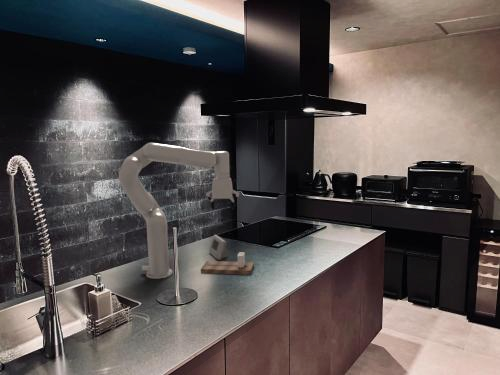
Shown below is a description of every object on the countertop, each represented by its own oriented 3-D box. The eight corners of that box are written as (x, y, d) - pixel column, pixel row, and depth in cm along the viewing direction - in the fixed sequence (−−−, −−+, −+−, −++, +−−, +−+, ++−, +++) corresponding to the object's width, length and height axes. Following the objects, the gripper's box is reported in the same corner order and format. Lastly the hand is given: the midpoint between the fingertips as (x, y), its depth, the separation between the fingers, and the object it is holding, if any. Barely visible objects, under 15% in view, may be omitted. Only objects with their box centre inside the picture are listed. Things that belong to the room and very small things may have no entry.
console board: (201, 272, 190) (200, 268, 190) (206, 264, 202) (206, 260, 201) (250, 274, 187) (250, 270, 186) (253, 266, 198) (253, 262, 198)
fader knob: (237, 267, 191) (237, 255, 190) (239, 263, 196) (238, 252, 195) (243, 267, 190) (243, 255, 189) (245, 263, 195) (244, 252, 194)
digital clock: (208, 252, 222) (208, 234, 221) (223, 251, 224) (223, 233, 223) (212, 261, 206) (211, 242, 205) (228, 260, 209) (228, 241, 207)
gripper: (203, 176, 189) (204, 210, 191) (237, 176, 187) (238, 211, 189) (207, 175, 196) (208, 207, 199) (240, 175, 194) (241, 208, 197)
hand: (223, 209), depth 194 cm, fingers open, 9 cm apart
